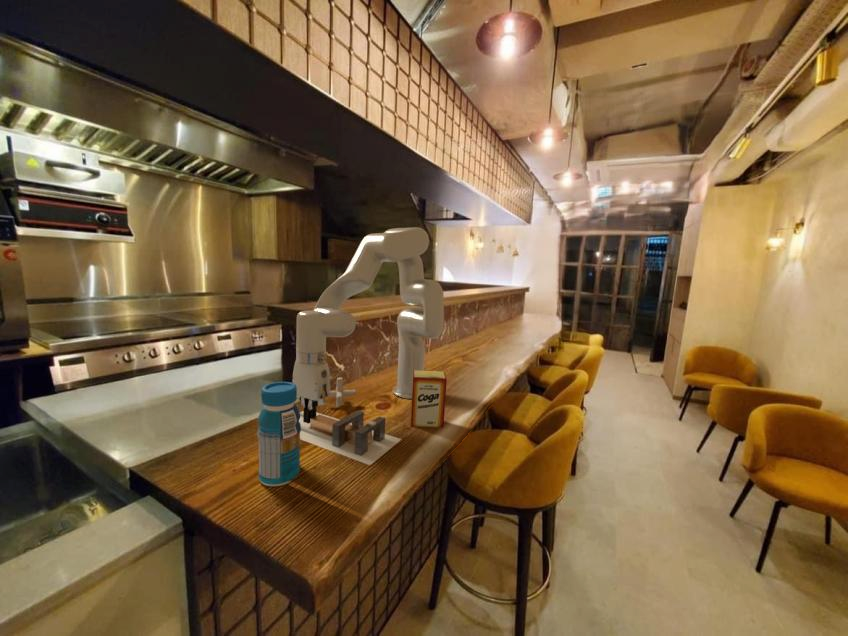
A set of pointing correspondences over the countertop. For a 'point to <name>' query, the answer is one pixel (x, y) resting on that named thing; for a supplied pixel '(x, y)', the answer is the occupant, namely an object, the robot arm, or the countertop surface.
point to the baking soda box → (428, 398)
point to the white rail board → (346, 449)
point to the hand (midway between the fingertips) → (309, 421)
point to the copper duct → (325, 426)
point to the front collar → (362, 434)
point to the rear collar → (339, 427)
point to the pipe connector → (341, 392)
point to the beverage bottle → (279, 434)
